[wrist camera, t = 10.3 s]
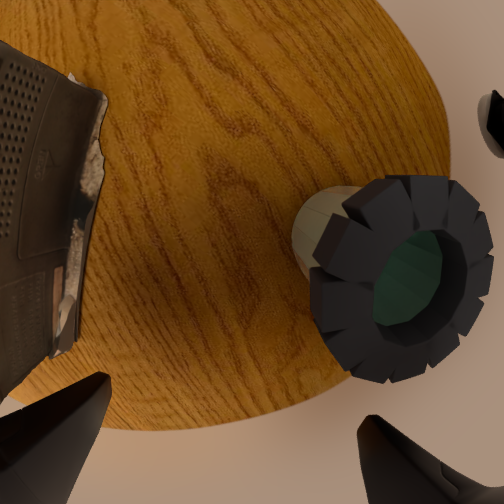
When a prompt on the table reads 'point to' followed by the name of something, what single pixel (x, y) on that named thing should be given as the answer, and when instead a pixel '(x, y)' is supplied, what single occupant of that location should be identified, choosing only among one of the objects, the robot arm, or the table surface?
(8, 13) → the table surface
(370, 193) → the ring
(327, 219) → the cup
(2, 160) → the radio
